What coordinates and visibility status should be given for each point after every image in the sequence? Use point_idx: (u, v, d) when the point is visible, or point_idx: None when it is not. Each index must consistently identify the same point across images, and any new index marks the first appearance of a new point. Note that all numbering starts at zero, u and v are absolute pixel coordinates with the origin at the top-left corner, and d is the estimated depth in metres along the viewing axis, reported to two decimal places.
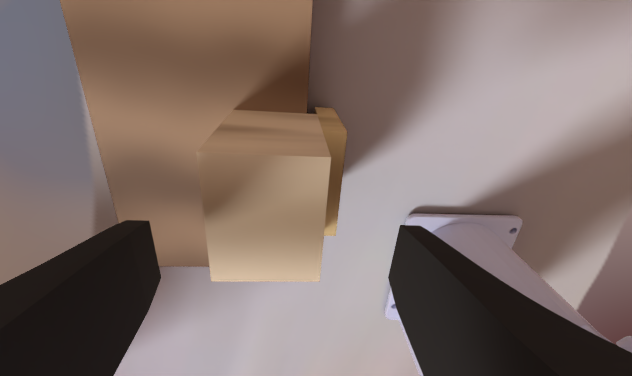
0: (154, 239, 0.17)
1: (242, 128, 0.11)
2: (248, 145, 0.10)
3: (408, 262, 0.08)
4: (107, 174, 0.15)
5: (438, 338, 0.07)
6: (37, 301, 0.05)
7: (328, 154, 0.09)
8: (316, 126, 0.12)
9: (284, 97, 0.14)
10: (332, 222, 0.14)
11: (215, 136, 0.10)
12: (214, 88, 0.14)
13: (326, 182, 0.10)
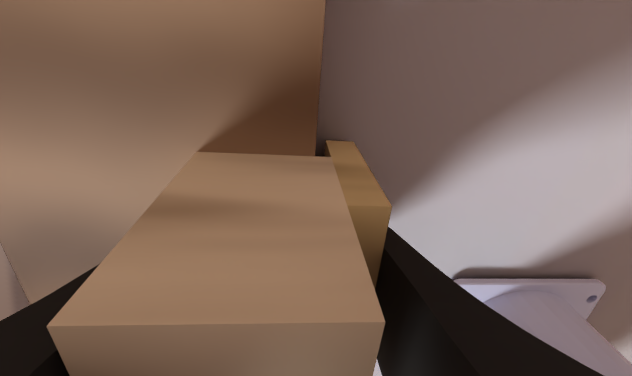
0: None
1: (198, 207, 0.06)
2: (194, 274, 0.04)
3: None
4: (5, 247, 0.10)
5: (393, 339, 0.07)
6: None
7: (376, 306, 0.04)
8: (334, 191, 0.07)
9: (279, 132, 0.09)
10: None
11: (131, 240, 0.05)
12: (164, 119, 0.08)
13: (370, 365, 0.04)
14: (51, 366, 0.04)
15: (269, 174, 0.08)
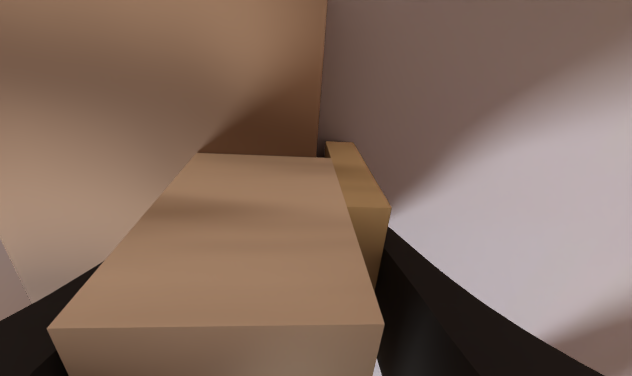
0: None
1: (197, 208, 0.06)
2: (194, 276, 0.04)
3: None
4: None
5: (393, 339, 0.07)
6: None
7: (375, 308, 0.04)
8: (334, 193, 0.07)
9: None
10: None
11: (131, 242, 0.05)
12: None
13: (369, 367, 0.04)
14: (51, 366, 0.04)
15: (269, 175, 0.08)
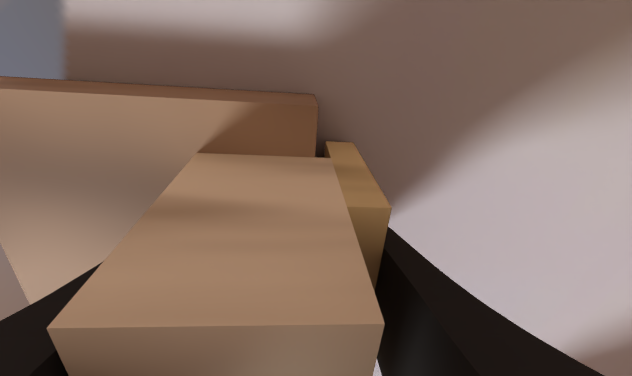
0: None
1: (198, 208, 0.06)
2: (193, 276, 0.04)
3: None
4: None
5: (393, 339, 0.07)
6: None
7: (375, 308, 0.04)
8: (334, 193, 0.07)
9: None
10: None
11: (131, 242, 0.05)
12: None
13: (369, 367, 0.04)
14: (51, 366, 0.04)
15: (269, 175, 0.08)
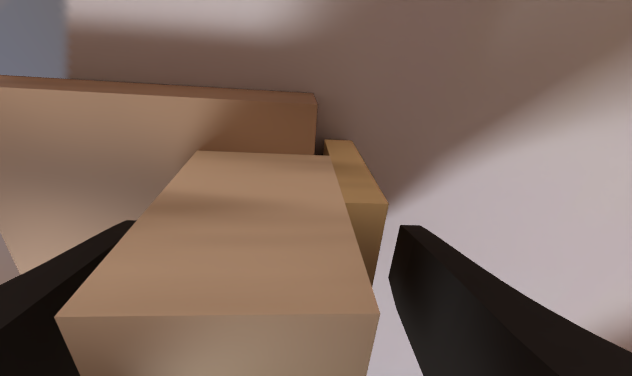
0: None
1: (198, 204, 0.06)
2: (195, 269, 0.04)
3: (408, 262, 0.08)
4: None
5: (438, 338, 0.07)
6: (37, 301, 0.05)
7: (371, 299, 0.04)
8: (332, 189, 0.07)
9: None
10: None
11: (134, 236, 0.05)
12: None
13: (365, 356, 0.04)
14: None
15: (268, 172, 0.08)
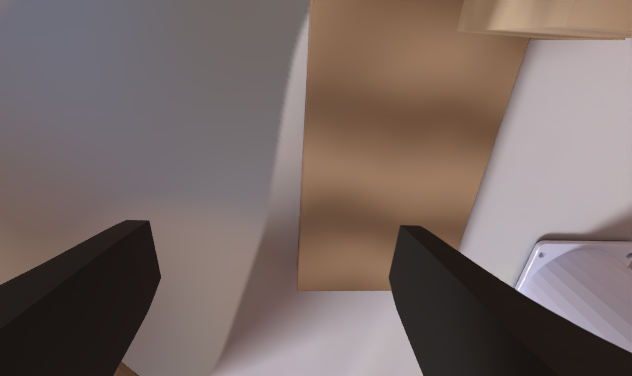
0: (325, 267, 0.19)
1: None
2: None
3: (408, 262, 0.08)
4: (303, 212, 0.17)
5: (438, 338, 0.07)
6: (37, 301, 0.05)
7: None
8: None
9: (473, 146, 0.16)
10: None
11: None
12: (416, 140, 0.15)
13: None
14: None
15: None
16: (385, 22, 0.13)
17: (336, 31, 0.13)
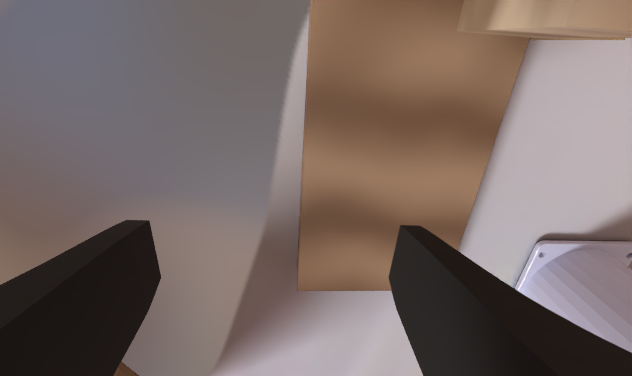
0: (325, 267, 0.19)
1: None
2: None
3: (408, 262, 0.08)
4: (303, 212, 0.17)
5: (438, 338, 0.07)
6: (37, 301, 0.05)
7: None
8: None
9: (473, 146, 0.16)
10: None
11: None
12: (416, 139, 0.15)
13: None
14: None
15: None
16: (385, 22, 0.13)
17: (336, 31, 0.13)
